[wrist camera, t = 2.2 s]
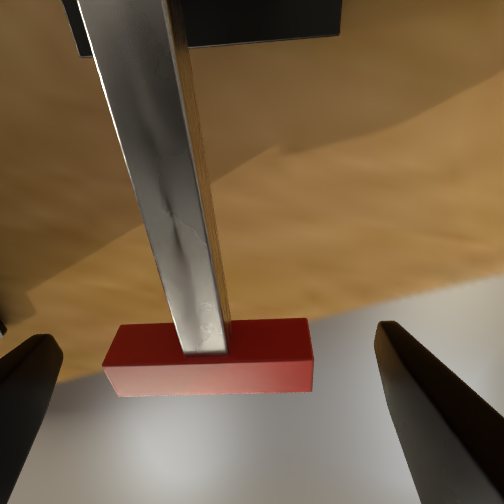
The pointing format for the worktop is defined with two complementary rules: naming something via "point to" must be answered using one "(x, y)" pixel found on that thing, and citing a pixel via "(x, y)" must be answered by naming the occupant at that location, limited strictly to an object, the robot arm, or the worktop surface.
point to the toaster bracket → (238, 21)
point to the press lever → (179, 222)
